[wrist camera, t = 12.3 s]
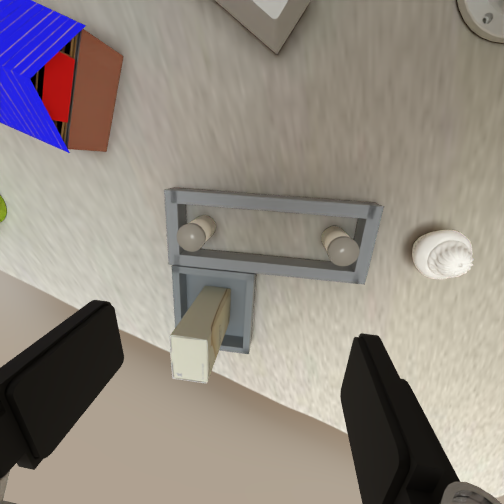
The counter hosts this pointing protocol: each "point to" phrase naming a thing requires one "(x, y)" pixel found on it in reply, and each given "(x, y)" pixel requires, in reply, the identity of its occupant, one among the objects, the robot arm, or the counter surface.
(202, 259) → the grey rectangular frame
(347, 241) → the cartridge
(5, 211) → the soap dispenser
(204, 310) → the skincare box
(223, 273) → the tray
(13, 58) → the house
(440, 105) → the counter surface
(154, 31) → the counter surface
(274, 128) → the counter surface
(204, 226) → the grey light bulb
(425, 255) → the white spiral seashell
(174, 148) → the counter surface
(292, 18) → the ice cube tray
